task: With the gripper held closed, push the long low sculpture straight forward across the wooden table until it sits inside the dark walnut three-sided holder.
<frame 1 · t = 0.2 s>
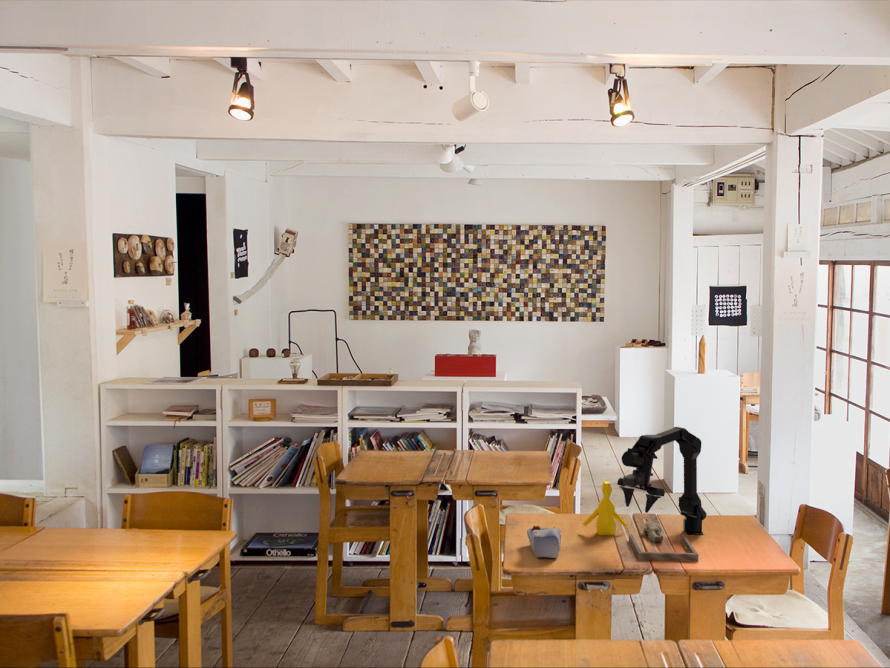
hand: (636, 509, 285), 15 cm above the table, tool pointing down, fingers open, 9 cm apart
holder: (662, 550, 284), on the table
figure statuette: (605, 534, 303), on the table
grey tapered container: (545, 552, 284), on the table
sculpture: (654, 538, 298), on the table
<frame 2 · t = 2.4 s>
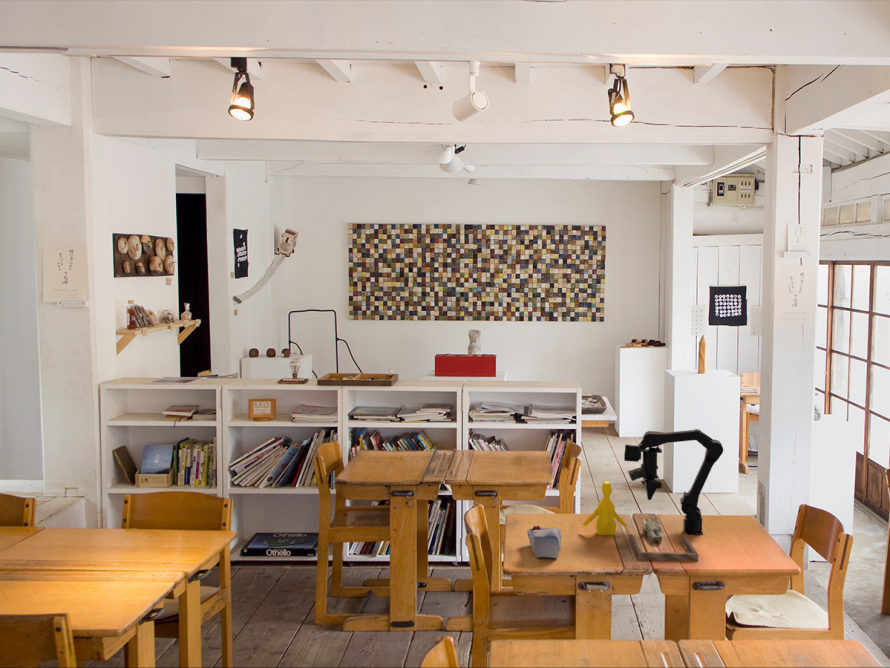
hand: (649, 499, 309), 12 cm above the table, tool pointing down, fingers closed
nothing on the table moved.
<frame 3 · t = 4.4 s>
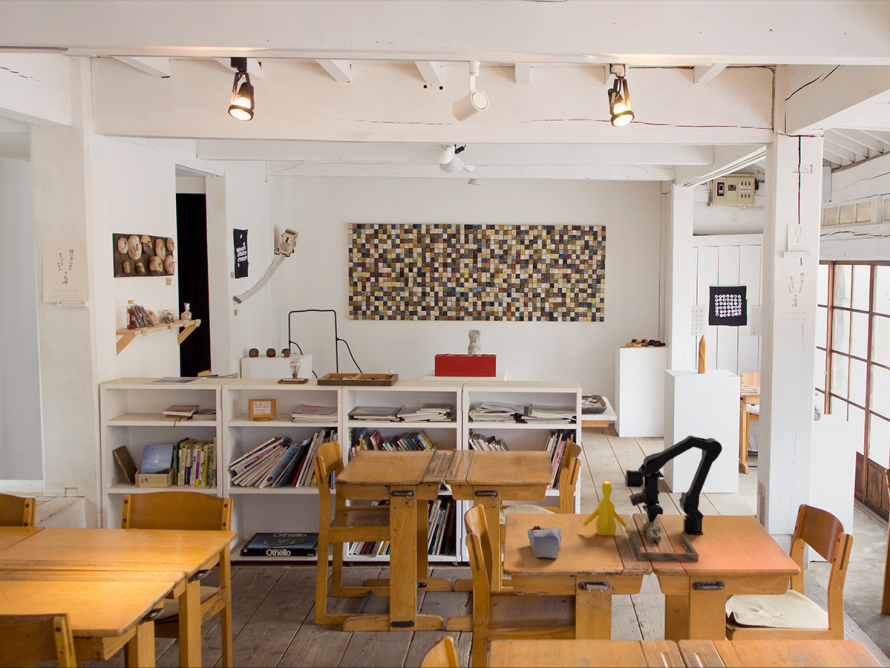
hand: (650, 524, 306), 3 cm above the table, tool pointing down, fingers closed
sculpture: (653, 538, 298), on the table, touching gripper
everything else where it was.
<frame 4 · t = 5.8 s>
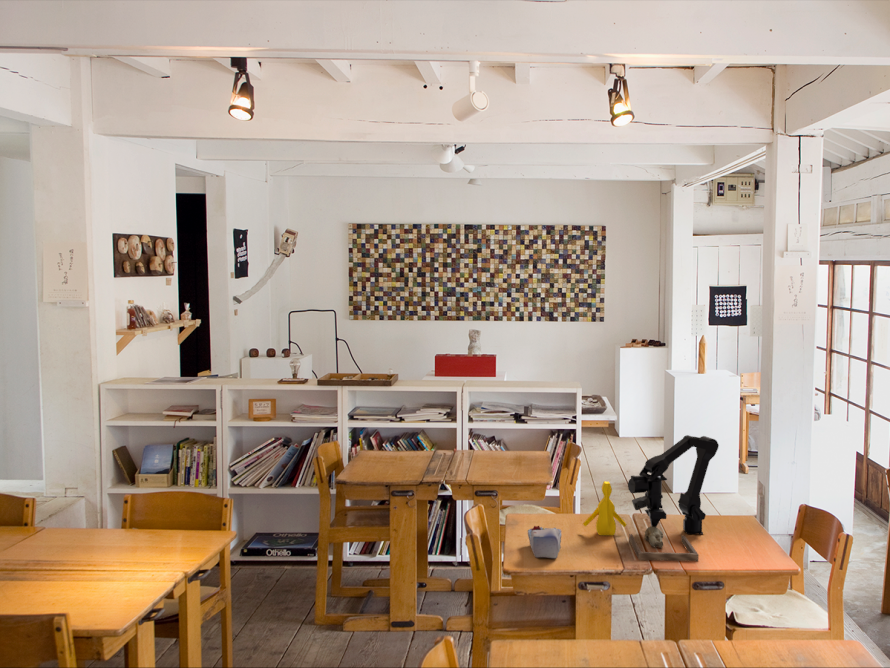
hand: (653, 529, 300), 3 cm above the table, tool pointing down, fingers closed
sculpture: (655, 544, 292), on the table, touching gripper
everything else where it was.
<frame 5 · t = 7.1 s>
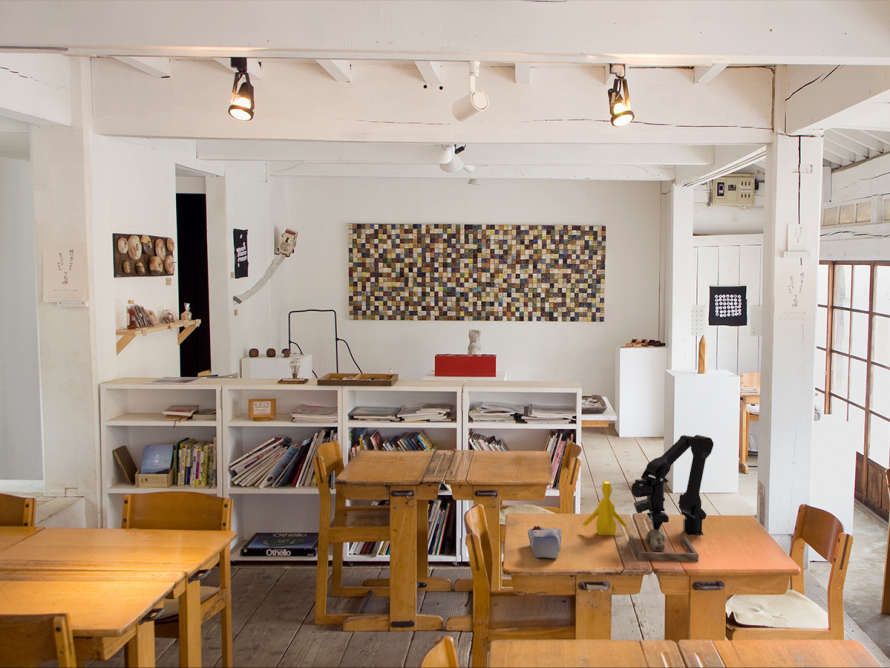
hand: (655, 532, 296), 3 cm above the table, tool pointing down, fingers closed
sculpture: (656, 547, 288), on the table, touching gripper
everything else where it was.
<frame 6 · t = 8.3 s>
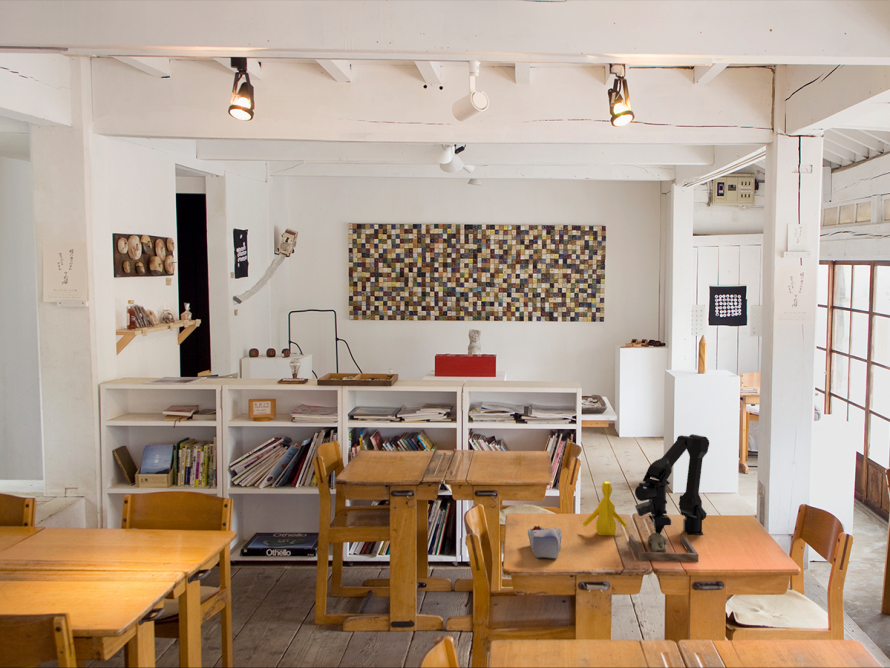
hand: (657, 535, 293), 3 cm above the table, tool pointing down, fingers closed
sculpture: (658, 551, 285), on the table, touching gripper
everything else where it was.
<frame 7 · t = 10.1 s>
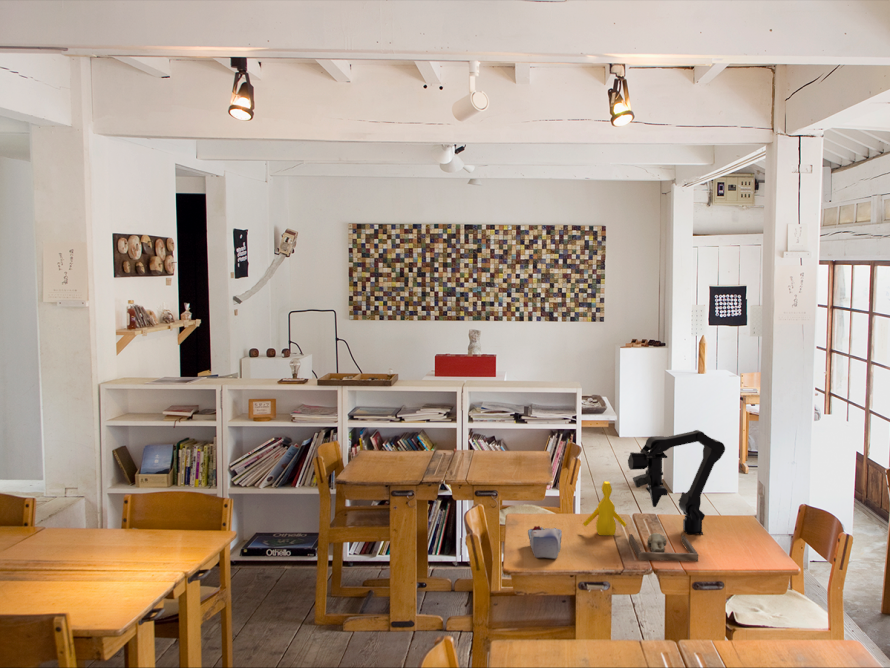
hand: (654, 506, 302), 11 cm above the table, tool pointing down, fingers closed
sculpture: (657, 551, 284), on the table
everything else where it was.
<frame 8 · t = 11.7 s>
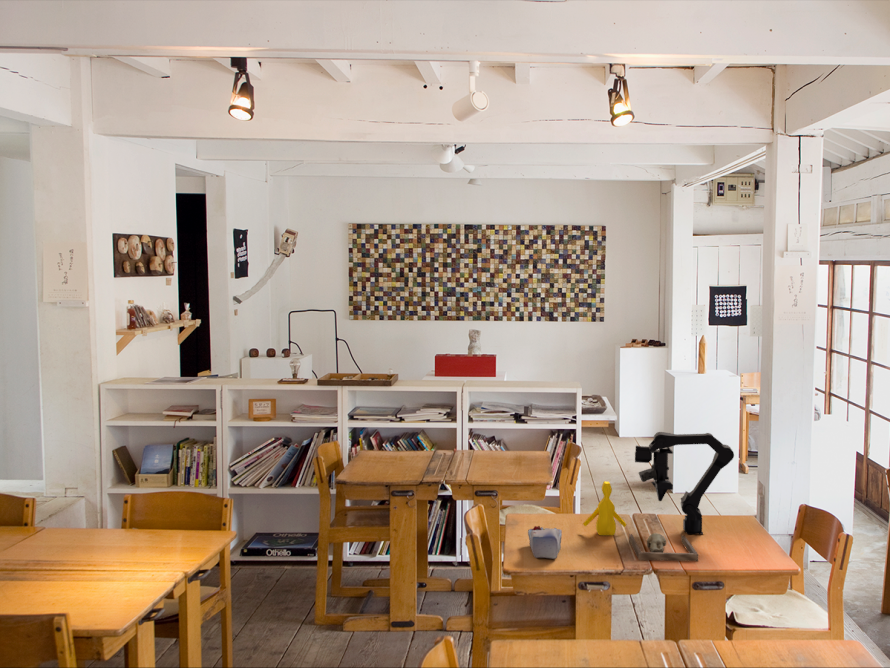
hand: (659, 500, 307), 12 cm above the table, tool pointing down, fingers closed
nothing on the table moved.
at the end: sculpture inside the target area on the holder (2.1 cm from its centre), point 0.0 cm above the holder's base; sculpture tilted 0° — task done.
